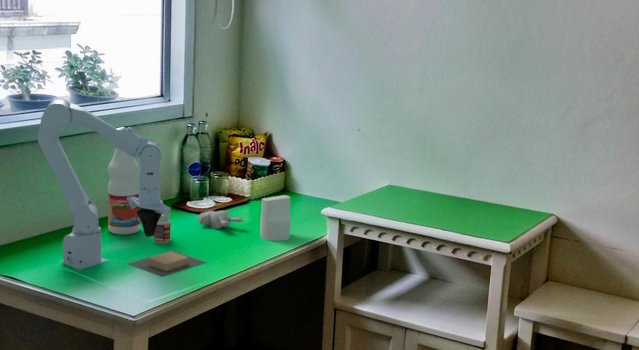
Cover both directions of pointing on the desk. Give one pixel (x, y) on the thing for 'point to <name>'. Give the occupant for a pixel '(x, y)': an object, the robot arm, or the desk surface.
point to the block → (168, 261)
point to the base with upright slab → (275, 218)
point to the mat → (144, 266)
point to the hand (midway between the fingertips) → (149, 235)
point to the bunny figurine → (217, 219)
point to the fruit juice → (123, 194)
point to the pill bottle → (162, 230)
